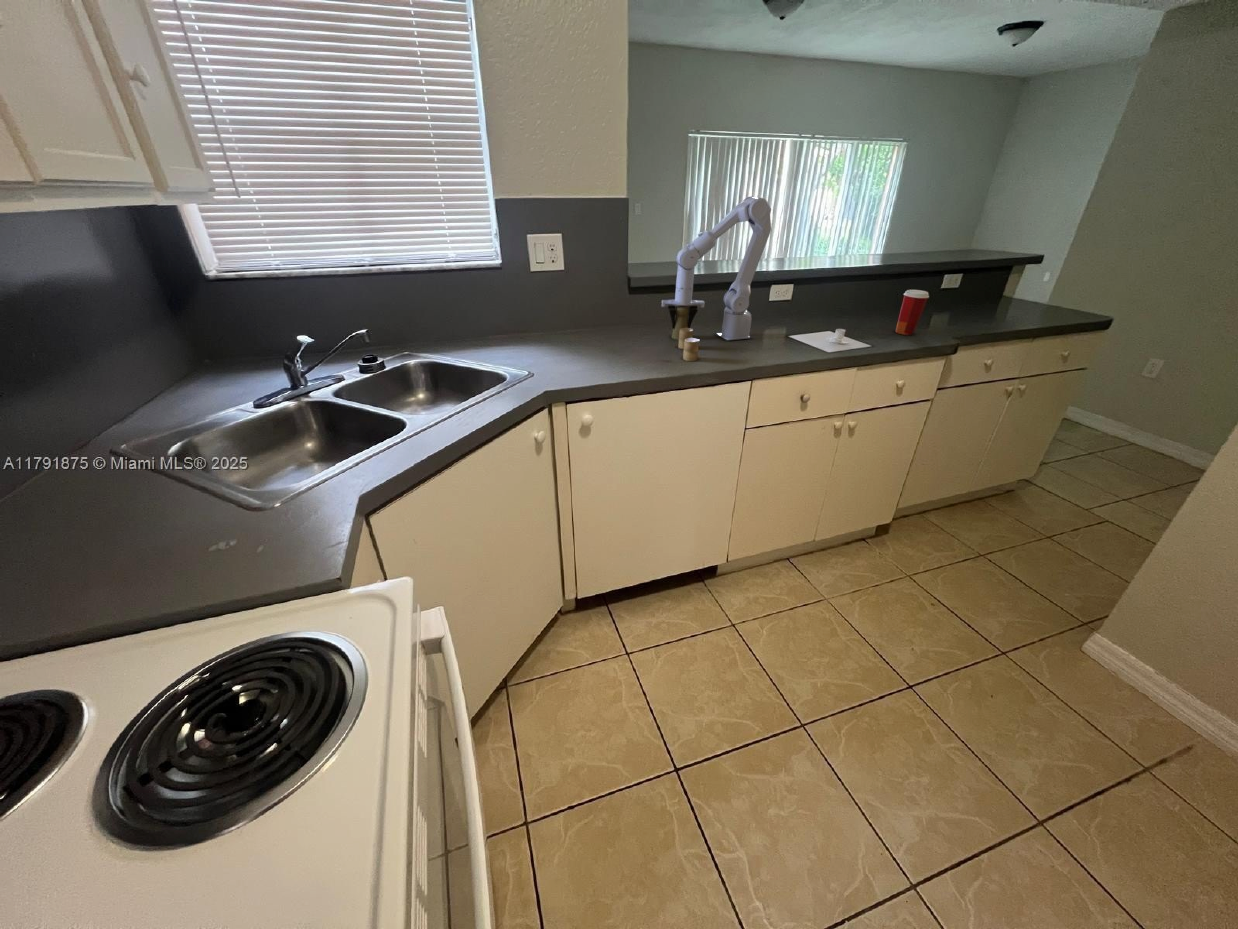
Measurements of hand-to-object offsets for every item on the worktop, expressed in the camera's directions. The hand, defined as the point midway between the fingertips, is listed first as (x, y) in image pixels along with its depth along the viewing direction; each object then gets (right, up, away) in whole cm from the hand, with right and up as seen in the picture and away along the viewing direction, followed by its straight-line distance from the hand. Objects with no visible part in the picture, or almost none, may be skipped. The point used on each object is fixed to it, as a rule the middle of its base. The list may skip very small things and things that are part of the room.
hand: (680, 327), depth 171 cm
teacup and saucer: (+53, -4, +2) cm, 53 cm away
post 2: (+1, -15, -18) cm, 24 cm away
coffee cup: (+86, +2, +13) cm, 87 cm away
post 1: (0, -9, -8) cm, 12 cm away
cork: (0, -3, +2) cm, 4 cm away
